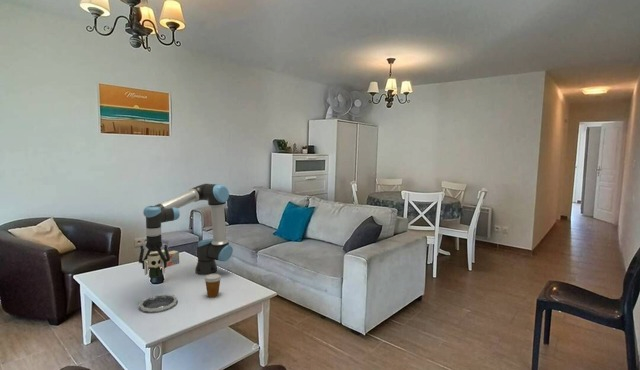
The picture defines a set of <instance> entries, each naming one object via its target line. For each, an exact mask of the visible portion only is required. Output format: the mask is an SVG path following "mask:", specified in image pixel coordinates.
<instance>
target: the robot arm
mask: <svg viewBox="0 0 640 370" xmlns="http://www.w3.org/2000/svg"><path fill="white" fill-rule="evenodd" d="M229 198H230V192H229V189H228V187H227V186H225V185H223V184H217V183H203V184H199V185H197V186H196V185H195V186H194V187H191V188H190V189H189V190H188V191H186V192H183V193H181V194H179V195H176V196H174V197H172V198H169V199H167V200H165V201H163V202H160V203H158V204H155V205H148V206H146V207H144V209H143V210H142V211H143V216H144V217H145V231H146V232H145V233H146V234H145V235H146V244H141V245H140V246H139V247H140V252H139V253H140V254H139V258H138V263H139V264H142V266H141V267H142V270H144V276H147V275H148V265H146V266H145V265H144V260H146V259H147V257H148V255H149V254H150V253H151V252H155V251H157V252H158V253H159V255H160V256H161V258H162V260H163V263H162V269H161V271H162V272H161V274H162V275H165V273H166V268H168V267H167V262H168V261H169V260H170V256H169V252H170V251H169V249H168V246H169V245H168V244H169V243H163V242H162V223H163V224H164V223H167V222H174V221H176V220H178V219H179V218H180V216H181V215H180V213H181V212H180V208H182V207H184V206H187V205H189V204H191V203H196V202H199V201H206V202H207V205H208V206H209V207H210V211H211V213H210V214H211V223H212V224H211V226H212V238H207V239H206V238H205V239H201V240H199V241H198V242H197V246H196V247H197V248H196V249H197V250H196V251H197V263H196V266H195V269H194V270H195V274H196V275H201V276H207V275H209V274H216V273H218V272H217V271H218V266H217V263H216V261H219V262H227V261H228V260H229V259H231V257H232V255H233V253H234V252H233V251H234V249H233V246H232V245H230V244H229V243H230V242H229V240H228V239H227V232H226V220H225V219H226V217H225V215H226V214H225V205H226V204H227V201H228V200H229ZM146 248H147V252H146V255H145V256H144V253H145V249H146ZM162 248H163V249H164V251H165V255H166V258H165V256H164V254H163V252H162V251H161V250H162ZM143 257H144V258H143ZM147 263H148V261H146V264H147Z"/></svg>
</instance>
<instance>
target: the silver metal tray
mask: <svg viewBox="0 0 640 370" xmlns="http://www.w3.org/2000/svg"><path fill="white" fill-rule="evenodd" d="M178 302H179V301H178V297H177V296H175V295H172V294H166V293H165V294H157V295H152V296H149V297H146V298H145V299H143V300H141V301H140V303H139V305H138V310H139V311H140V312H141V313H144V314H156V313H157V314H159V313H162V312H166V311H169V310H172V309H174V307H176V306H177V305H178Z"/></svg>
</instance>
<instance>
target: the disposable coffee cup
mask: <svg viewBox="0 0 640 370" xmlns="http://www.w3.org/2000/svg"><path fill="white" fill-rule="evenodd" d="M204 276H205V277H204V281H205V286H206V287H205V288H206V293H207V297H208V298H217V297H218V296H219V292H220V283H221V279H222V277H221V275H220V274H219V273H213V274H209V275H204Z"/></svg>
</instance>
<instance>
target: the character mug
mask: <svg viewBox="0 0 640 370" xmlns="http://www.w3.org/2000/svg"><path fill="white" fill-rule="evenodd" d="M143 260H144V259H143ZM146 262H147V264H146ZM162 262H163V260H162V259H161V256H160V255H159V253H152V254H149V255H148V257H147V259H146V260H144V265H145V266H146V265H147V268H148V267H150V270H149V269H148V270H149V272H148V278H150V279H156V278H160V277H161V276H162V272H161V271H162V270H161V269H160V267H159V266H160V265H161V264H162Z"/></svg>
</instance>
